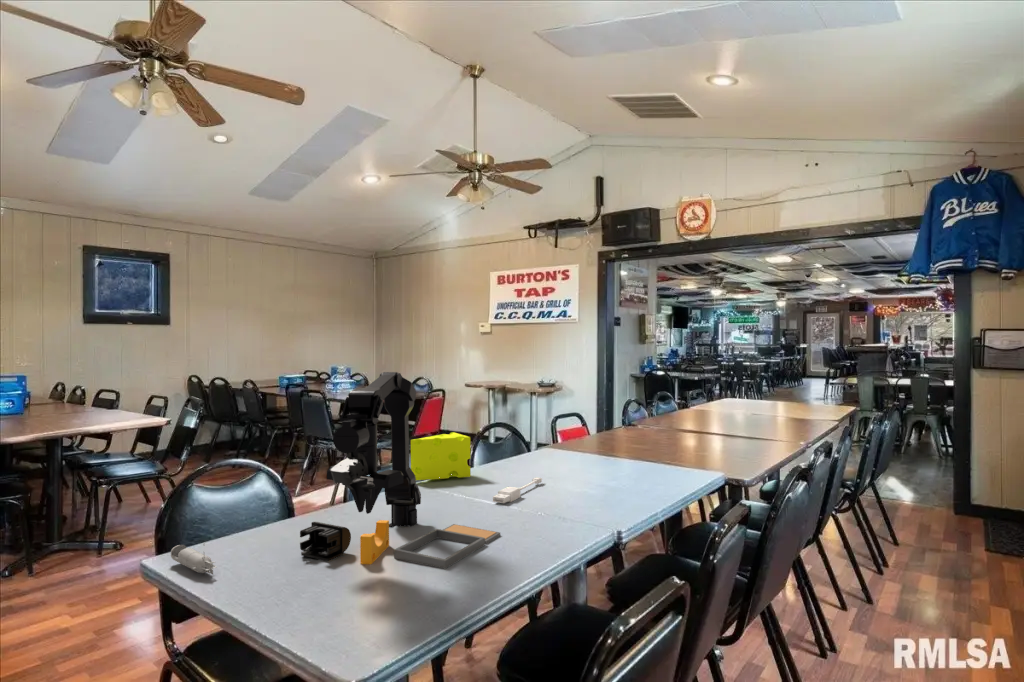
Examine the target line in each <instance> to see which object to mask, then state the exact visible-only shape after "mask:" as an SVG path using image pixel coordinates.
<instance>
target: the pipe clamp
mask: <svg viewBox="0 0 1024 682" xmlns="http://www.w3.org/2000/svg"><path fill="white" fill-rule="evenodd" d="M389 524H390V520H389V519H388V520H387V519H386V520H385V519H384V520H383V519H379V520H377V521H376V522H375V532H372V533H363V534H361V535H360V537H359V538H360V539H359V540H360V543H359V544H360V545H359V546H360V547H359V548H360V549H359V550H360V555H359V557H360V563H359V564H360V565H372V564H374V562H375V561H376V560H377V559H378V558H379V557H380V556H381V555H382V554H383V553H384V552H385V551H386V550H387V549H388V548H389V546H390V527H389Z"/></svg>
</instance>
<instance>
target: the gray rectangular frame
mask: <svg viewBox="0 0 1024 682" xmlns="http://www.w3.org/2000/svg"><path fill="white" fill-rule="evenodd" d="M437 539H441V540H445V541H446V540H447V541H452V542H457V543H463V544H468V545H466V546H464V547H463V548H461V549H460V550H457V551H455V552H454V553H452V554H451V555H449V556H447V557H446V558H441V557H438V556H437V557H436V556H432V555H428V554H423V553H422V554H421V553H419V552H415V551H414V550H417V549H418V548H421V547H422V546H425V545H426V544H429V543H430V542H432V541H435V540H437ZM485 545H486V544H485V538H483V537H478V536H473V535H467V534H462V533H457V532H451V531H446V530H443V529H441V528H440V529H439V528H436V529H433V530H432V531H430V532H429V531H428V532H427V533H426V534H423V535H421V536H418V537H417V538H415V539H413V540H410V541H408V542H407V543H405V544H402V545H400V546H398V547H396V548H395V549H394V550H393V558H394V559H396V560H401V561H405V562H410V563H415V564H420V565H426V566H430V567H434V568H435V567H436V568H439V569H445V570H446V569H447V568H448V567H451V566H452V565H454V564H455V563H457V562H459V561H461V560H462V559H464V558H466V557H467V556H469V555H471V554H472V553H474V552H475V551H477V550H479V549H480V548H482V547H484V546H485Z"/></svg>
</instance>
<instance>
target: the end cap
mask: <svg viewBox="0 0 1024 682" xmlns="http://www.w3.org/2000/svg"><path fill="white" fill-rule="evenodd" d="M306 536H309V537H308V539H305V540H303V541H301V542H299V549H300V550H301V552H300V553H301V554H300V555H301V556H302V557H307V558H311V559H315V560H321V561H323V562H324V561H325V562H331V561H333V560H335V559H337V558H339V557H341V556H342V555H344V553H345V552H346V551H347V550H348V548H349V546H350V543H351V541H352V534H351V530H350V529H349V528H347V527H345V526H342V525H341V526H340V525H336V524H335V525H334V524H330V523H325V522H319V521H312V522H311V526H308V527H305V528H304V529H303V528H302V529H301V530H300V532H299V538H303V537H306Z"/></svg>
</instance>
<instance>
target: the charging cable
mask: <svg viewBox="0 0 1024 682" xmlns="http://www.w3.org/2000/svg"><path fill="white" fill-rule="evenodd" d="M542 480H543V477H533V478H532V481H531V482H529V483H526V484H525V485H523V486H521V487H514V486H507V487H505V488H502V489H500V490H499V491H498V492H497V494H496V495H494V496H492V502H494V503H501V504H506V503H512V502H514V501H515V500H518V499H520V498H521V490H523V489H526V488H527V487H530V486H532V485H533V484H541V483H542V482H543V481H542Z"/></svg>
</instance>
